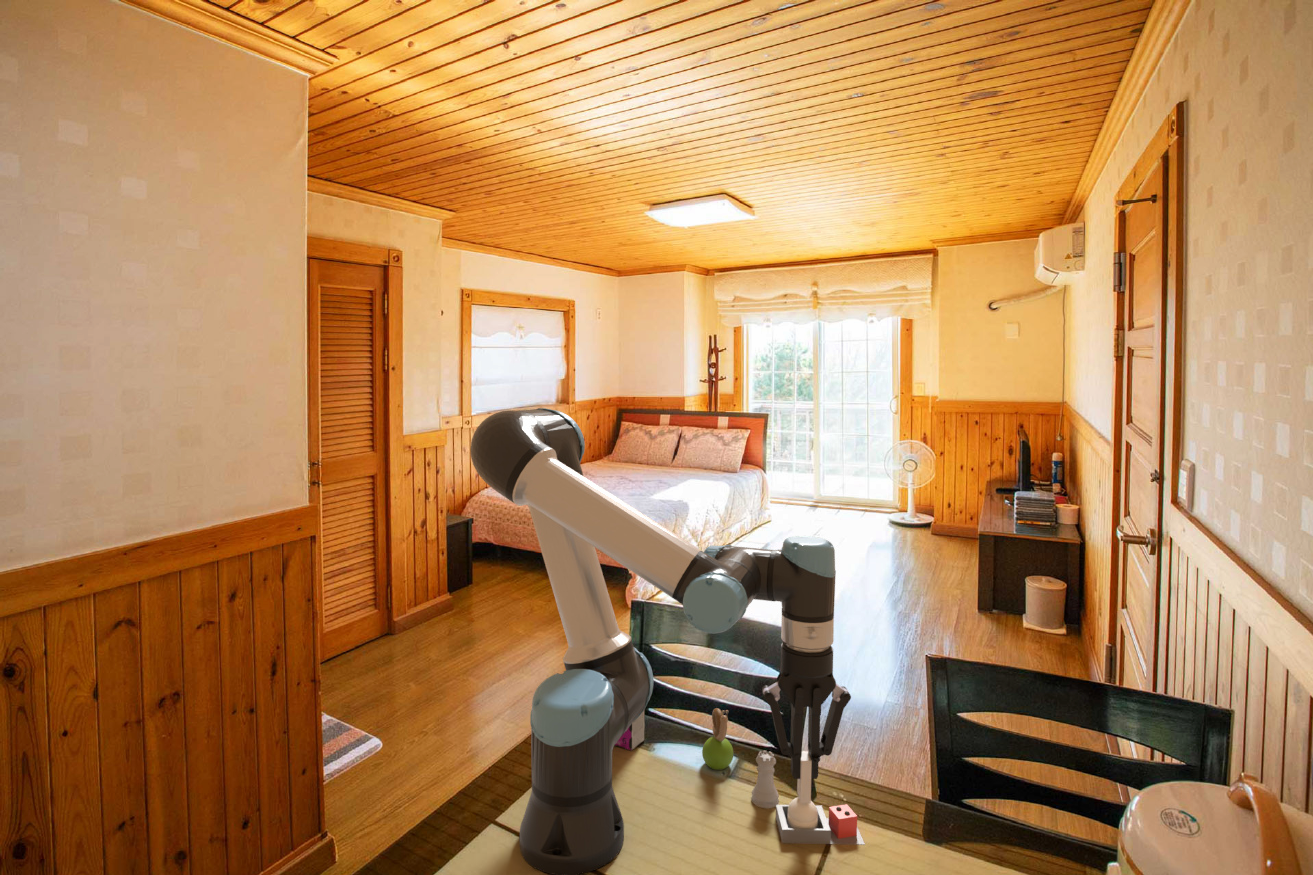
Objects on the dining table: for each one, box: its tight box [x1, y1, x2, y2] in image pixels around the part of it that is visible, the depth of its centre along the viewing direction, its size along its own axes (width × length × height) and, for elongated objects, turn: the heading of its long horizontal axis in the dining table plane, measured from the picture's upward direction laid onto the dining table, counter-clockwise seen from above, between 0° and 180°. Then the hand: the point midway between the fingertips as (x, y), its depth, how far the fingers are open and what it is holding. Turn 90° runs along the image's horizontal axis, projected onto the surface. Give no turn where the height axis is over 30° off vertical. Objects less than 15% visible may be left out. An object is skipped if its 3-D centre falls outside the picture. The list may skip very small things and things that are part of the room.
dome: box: [787, 796, 818, 829], centre depth 103 cm, size 4×4×4 cm
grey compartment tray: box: [775, 803, 866, 846], centre depth 103 cm, size 12×6×4 cm, turn 89°
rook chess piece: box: [750, 750, 780, 809], centre depth 110 cm, size 4×4×8 cm
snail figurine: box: [701, 707, 734, 771], centre depth 120 cm, size 5×6×12 cm
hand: (803, 797), depth 102 cm, fingers closed
